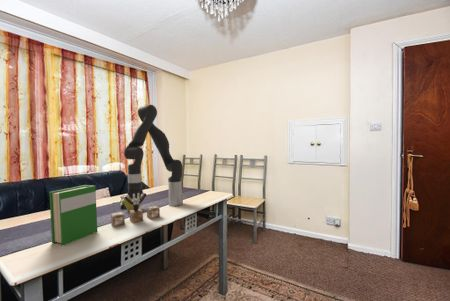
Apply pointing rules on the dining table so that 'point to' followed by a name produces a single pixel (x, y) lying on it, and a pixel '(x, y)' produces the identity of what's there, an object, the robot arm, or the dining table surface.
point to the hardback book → (73, 213)
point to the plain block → (136, 216)
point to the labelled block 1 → (117, 219)
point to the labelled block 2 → (153, 212)
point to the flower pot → (130, 206)
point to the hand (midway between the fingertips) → (135, 210)
